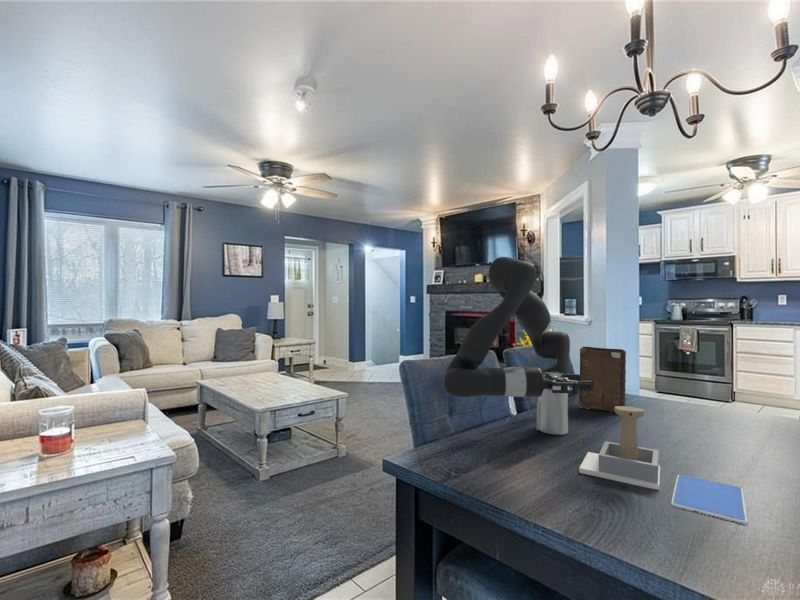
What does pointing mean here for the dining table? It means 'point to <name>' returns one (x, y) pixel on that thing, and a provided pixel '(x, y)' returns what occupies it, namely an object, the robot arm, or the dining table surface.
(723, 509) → the tablet computer
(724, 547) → the dining table surface
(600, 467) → the open box
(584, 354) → the book
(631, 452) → the handle
